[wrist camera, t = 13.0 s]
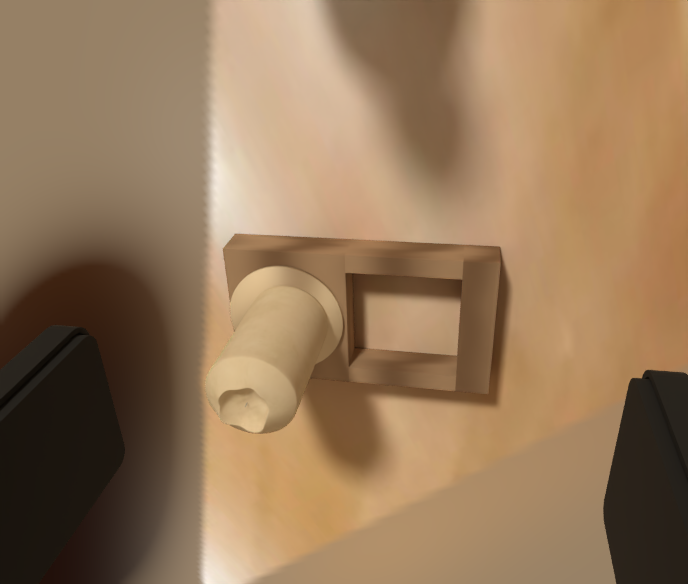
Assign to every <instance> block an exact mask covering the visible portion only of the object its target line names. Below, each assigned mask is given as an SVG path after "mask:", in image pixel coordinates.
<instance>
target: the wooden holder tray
mask: <svg viewBox="0 0 688 584" xmlns="http://www.w3.org/2000/svg"><path fill="white" fill-rule="evenodd" d="M223 254H224V261H225V269H226V276H227V283H228V291H229V298H230V318H231V322H232V325H233V328H234V331H235V330H236V328H237V327H238V325H239V324H240V322H241V321H242V319H243V317H244V316H245V314H246V313H247V311H248V310H249V308H250V307H251V305H252V304H253V302H254V301H255V299H256V298H257V297H258V296H259V295H260V294H261V293H263V292H264V291H266V290H267V289H270V288H272V287H276V286H293V287H296V288H299V289H302V290H304V291H306V292H308V293H309V294H311V295H312V296H313V297H315V298H316V299H317V300H318V301H319V303H320V304H321V305H322V307H323V309H324V310H325V313H326V315H327V320H328V331H327V335H326V338H325V341H324V344H323V346H322V349H321V351H320V354H319V356H318V359H317V361H316V364H315V366H314V369H313V371H312V374H311V376H310V378H314V379H325V380H336V381H347V382H358V383H370V384H381V385H392V386H403V387H414V388H425V389H436V390H447V391H458V392H469V393H481V394H488V392H489V381H490V371H491V360H492V350H493V339H494V329H495V318H496V308H497V297H498V286H499V276H500V265H501V261H500V247H494V246H474V245H453V244H433V243H412V242H392V241H371V240H351V239H331V238H310V237H290V236H269V235H249V234H235V235H234V236H233V237H232V239H231V240H230V241H229V242H228V243H227V244H226V246H225V247H224V248H223ZM353 273H358V274H376V275H393V276H410V277H427V278H444V279H461V280H462V292H461V308H460V323H459V339H458V355H457V356H450V355H438V354H425V353H413V352H400V351H388V350H375V349H363V348H355V338H354V303H353Z"/></svg>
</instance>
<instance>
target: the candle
mask: <svg viewBox="0 0 688 584" xmlns="http://www.w3.org/2000/svg"><path fill="white" fill-rule="evenodd" d="M327 331H328V320H327V315H326V313H325V310H324V309H323V307H322V305H321V304H320V303H319V301H318V300H317V299H316V298H315V297H313V296H312V295H311V294H309V293H308V292H306V291H304V290H302V289H299V288H296V287H293V286H276V287H272V288H270V289H267V290H266V291H264V292H263V293H261V294H260V295H259V296H258V297H257V298H256V299H255V301H254V302H253V304H252V305H251V307H250V308H249V310H248V311H247V313H246V314H245V316H244V317H243V319H242V321H241V322H240V324H239V325H238V327H237V328H236V330H235V331H234V333H233V335H232V336H231V338H230V339H229V341H228V342H227V344H226V346H225V347H224V349H223V350H222V352H221V353H220V355H219V357H218V358H217V360H216V361H215V363H214V364H213V366H212V367H211V369H210V371H209V372H208V374H207V377H206V381H205V392H206V396H207V399H208V401H209V403H210V405H211V407H212V408H213V410H214V411H215V412H216V413H217V415H218V416H219V418H220V420H221V421H222V422H223V423H225V424H228V425H231V426H232V427H234V428H237V429H239V430H242V431H245V432H250V433H259V434H261V433H271V432H275V431H278V430H280V429H282V428H284V427H285V426H287V425H288V424H289V423H290V422H291V421H292V419H293V418H294V416H295V414H296V411H297V409H298V406H299V404H300V401H301V399H302V396H303V394H304V391H305V389H306V386H307V384H308V381H309V379H310V376H311V374H312V371H313V369H314V366H315V364H316V361H317V359H318V356H319V354H320V351H321V349H322V346H323V344H324V341H325V338H326V335H327Z"/></svg>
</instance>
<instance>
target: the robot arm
mask: <svg viewBox="0 0 688 584" xmlns="http://www.w3.org/2000/svg"><path fill="white" fill-rule="evenodd" d="M124 453H125V447H124V442H123V438H122V434H121V431H120V427H119V424H118V419H117V416H116V412H115V408H114V405H113V401H112V397H111V393H110V390H109V386H108V382H107V378H106V375H105V371H104V367H103V363H102V359H101V355H100V352H99V348H98V344H97V341H96V339H95V338H94V337H92V336H90V335H89V333H88V332H87V330H86V329H84V328H82V327H71V326H59V325H55V326H50V327H49V328H47V329H46V330H45V331H44V332H43V333H41V334H40V335H39V336H38V337H37V338H36V339H35V340H33V342H31V343H30V344H29V345H28V346H27V347H25V348H24V349H23V350H22V351H21V352H20V353H19V354H18V355H16V356H15V357H14V358H13V359H12V360H11V361H10V362H9V363H7V364H6V365H5V366H4V367H3V368H2V369H1V370H0V584H38V583H39V582H40V581H41V579H42V578H43V576H44V575H45V574H46V572H47V571H48V569H49V568H50V566H51V565H52V563H53V562H54V561H55V559H56V558H57V556H58V555H59V553H60V552H61V550H62V549H63V547H64V546H65V544H66V543H67V542H68V540H69V539H70V537H71V536H72V535H73V533H74V532H75V530H76V529H77V527H78V526H79V525H80V523H81V522H82V520H83V519H84V517H85V516H86V514H87V513H88V511H89V510H90V509H91V507H92V506H93V504H94V503H95V502H96V500H97V498H98V497H99V496H100V494H101V493H102V491H103V490H104V489H105V487H106V486H107V484H108V483H109V481H110V480H111V478H112V477H113V476H114V474H115V473H116V471H117V470H118V468H119V467H120V465H121V463H122V461H123V458H124ZM603 509H604V524H605V529H606V534H607V539H608V544H609V548H610V554H611V559H612V564H613V569H614V574H615V579H616V584H688V375H687V374H686V373H682V372H669V371H656V370H646V371H645V372H644V374H643V377H642V379H640V378H632V379H631V380H630V383H629V386H628V391H627V396H626V400H625V405H624V410H623V415H622V419H621V424H620V428H619V433H618V438H617V442H616V447H615V452H614V456H613V461H612V466H611V471H610V475H609V480H608V484H607V489H606V494H605V499H604V508H603Z"/></svg>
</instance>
